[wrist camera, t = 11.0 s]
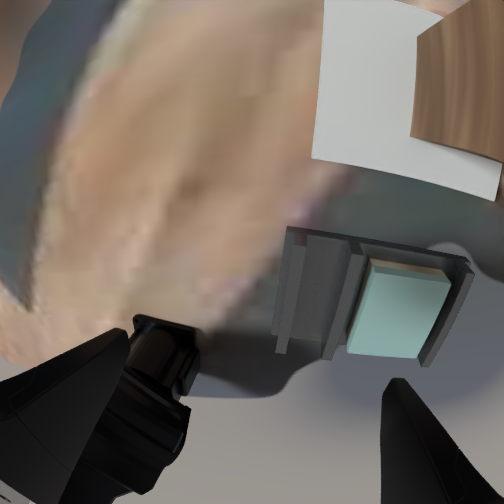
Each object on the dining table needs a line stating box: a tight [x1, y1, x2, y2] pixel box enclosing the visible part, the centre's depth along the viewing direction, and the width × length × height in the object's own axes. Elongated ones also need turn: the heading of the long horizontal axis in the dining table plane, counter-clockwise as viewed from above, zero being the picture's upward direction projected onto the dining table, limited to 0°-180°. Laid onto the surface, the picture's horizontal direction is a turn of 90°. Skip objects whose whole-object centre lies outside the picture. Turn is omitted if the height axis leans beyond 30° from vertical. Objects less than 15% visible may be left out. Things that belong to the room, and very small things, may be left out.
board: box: [311, 0, 502, 201], centre depth 14 cm, size 14×12×1 cm
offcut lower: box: [346, 258, 446, 344], centre depth 20 cm, size 6×7×1 cm
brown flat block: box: [410, 0, 504, 164], centre depth 9 cm, size 2×7×9 cm, turn 176°
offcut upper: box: [347, 265, 451, 358], centre depth 19 cm, size 6×7×1 cm
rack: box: [271, 226, 475, 367], centre depth 20 cm, size 14×9×3 cm, turn 86°
